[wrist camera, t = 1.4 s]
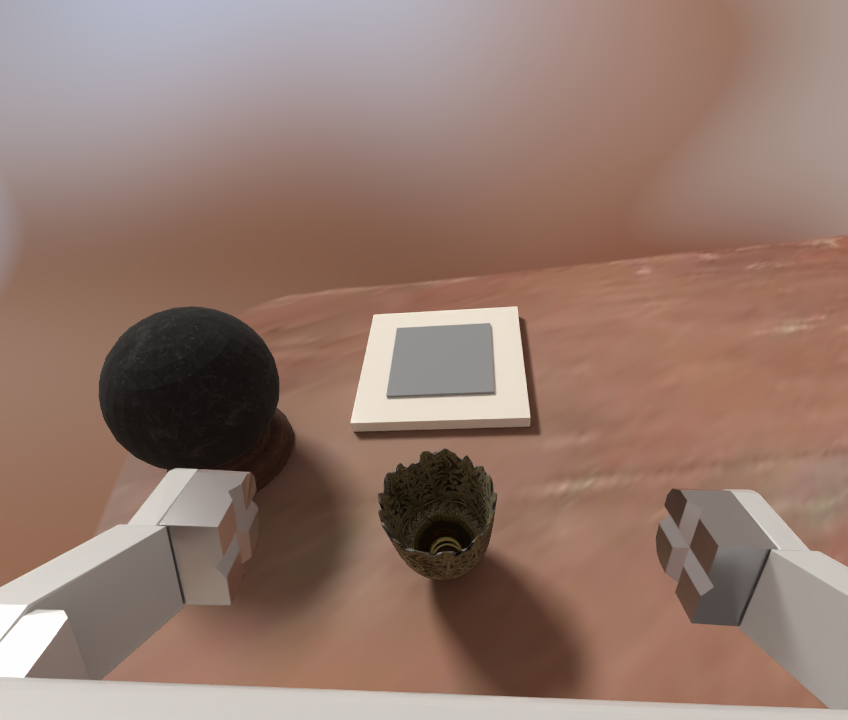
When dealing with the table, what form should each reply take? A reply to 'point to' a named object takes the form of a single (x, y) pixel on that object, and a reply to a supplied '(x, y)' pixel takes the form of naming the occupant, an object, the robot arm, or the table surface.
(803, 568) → the robot arm
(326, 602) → the table surface
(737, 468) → the table surface
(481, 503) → the cup
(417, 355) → the tile plinth
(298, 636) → the table surface
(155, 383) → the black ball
